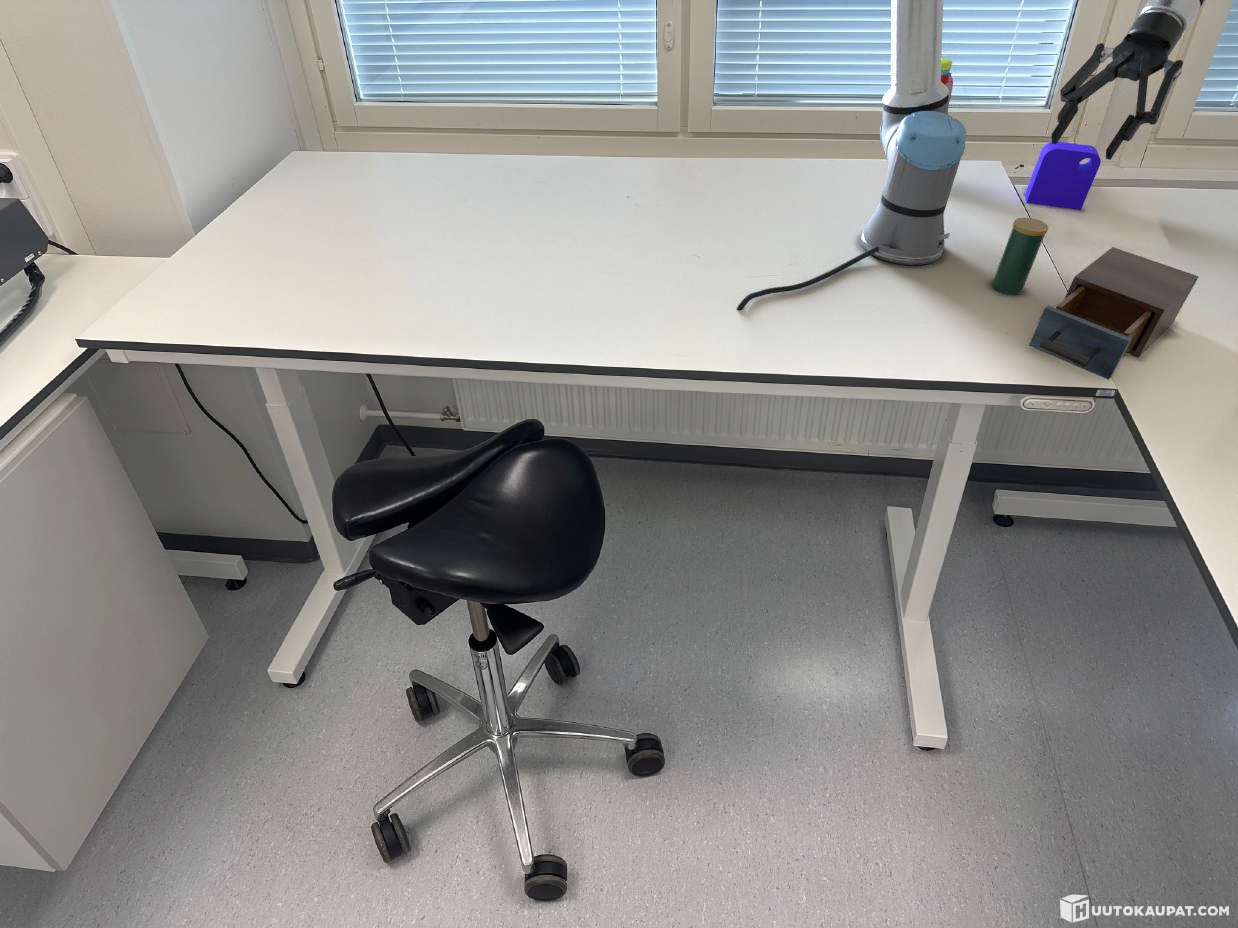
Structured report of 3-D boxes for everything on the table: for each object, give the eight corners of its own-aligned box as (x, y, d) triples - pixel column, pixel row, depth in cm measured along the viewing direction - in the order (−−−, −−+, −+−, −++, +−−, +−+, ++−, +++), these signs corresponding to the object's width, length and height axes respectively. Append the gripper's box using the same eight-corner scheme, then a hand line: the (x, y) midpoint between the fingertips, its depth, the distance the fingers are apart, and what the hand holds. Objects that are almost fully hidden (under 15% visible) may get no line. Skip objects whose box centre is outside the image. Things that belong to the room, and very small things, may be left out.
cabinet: (1138, 358, 127) (1164, 310, 122) (1053, 323, 135) (1074, 276, 129) (1172, 323, 136) (1199, 276, 130) (1091, 292, 143) (1112, 246, 137)
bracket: (1080, 210, 169) (1104, 154, 162) (1026, 203, 172) (1047, 147, 164) (1070, 179, 182) (1092, 125, 175) (1020, 172, 185) (1039, 119, 177)
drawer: (1093, 394, 118) (1114, 355, 113) (1012, 359, 125) (1028, 320, 120) (1144, 344, 129) (1164, 306, 124) (1066, 313, 135) (1083, 277, 131)
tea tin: (1001, 296, 141) (1026, 232, 133) (984, 281, 145) (1007, 218, 137) (1029, 294, 142) (1055, 230, 134) (1011, 279, 146) (1036, 216, 138)
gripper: (1227, 54, 129) (1145, 177, 131) (1094, 28, 140) (1021, 142, 142) (1234, 23, 123) (1148, 153, 125) (1095, -3, 134) (1018, 117, 136)
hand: (1080, 147), depth 134 cm, fingers open, 8 cm apart
